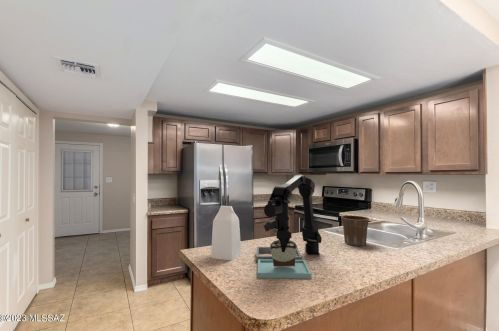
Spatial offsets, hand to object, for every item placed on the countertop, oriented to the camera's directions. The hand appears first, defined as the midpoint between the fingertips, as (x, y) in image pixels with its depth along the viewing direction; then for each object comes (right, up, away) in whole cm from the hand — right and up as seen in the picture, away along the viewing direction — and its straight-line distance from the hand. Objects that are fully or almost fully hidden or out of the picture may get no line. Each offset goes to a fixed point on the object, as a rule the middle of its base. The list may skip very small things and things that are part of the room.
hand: (282, 249), depth 113 cm
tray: (0, -9, -1) cm, 9 cm away
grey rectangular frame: (0, -10, +17) cm, 20 cm away
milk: (-27, -10, +21) cm, 36 cm away
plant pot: (+50, -11, +43) cm, 67 cm away
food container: (+1, -7, +1) cm, 7 cm away
